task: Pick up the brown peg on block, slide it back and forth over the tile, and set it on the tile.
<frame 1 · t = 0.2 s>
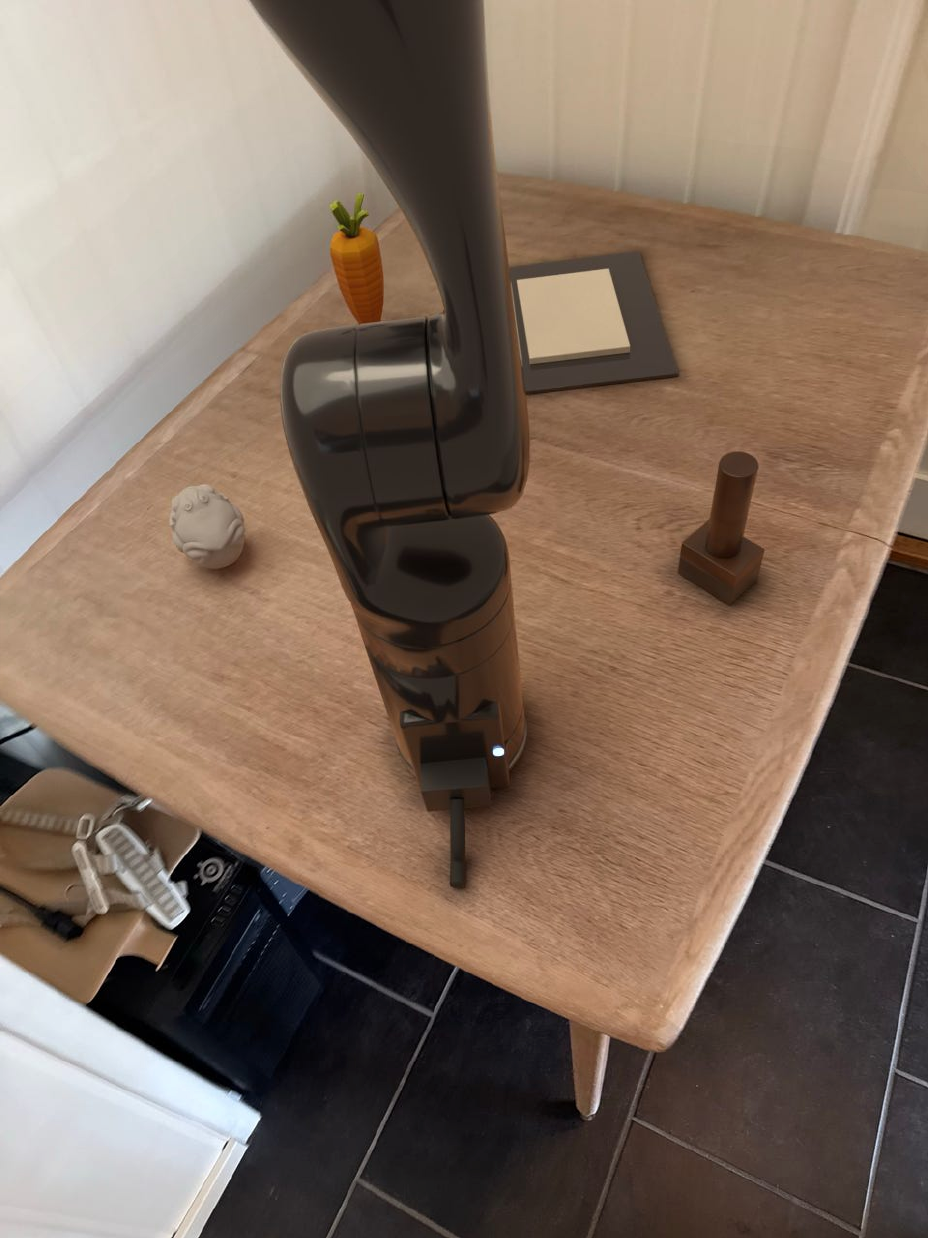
hand: (390, 35, 67), 29 cm above the table, tool pointing down, fingers open, 8 cm apart
brown peg on block: (717, 576, 70), on the table
frog figurine: (222, 558, 77), on the table
carrot: (373, 335, 94), on the table
tile: (570, 321, 92), on the table
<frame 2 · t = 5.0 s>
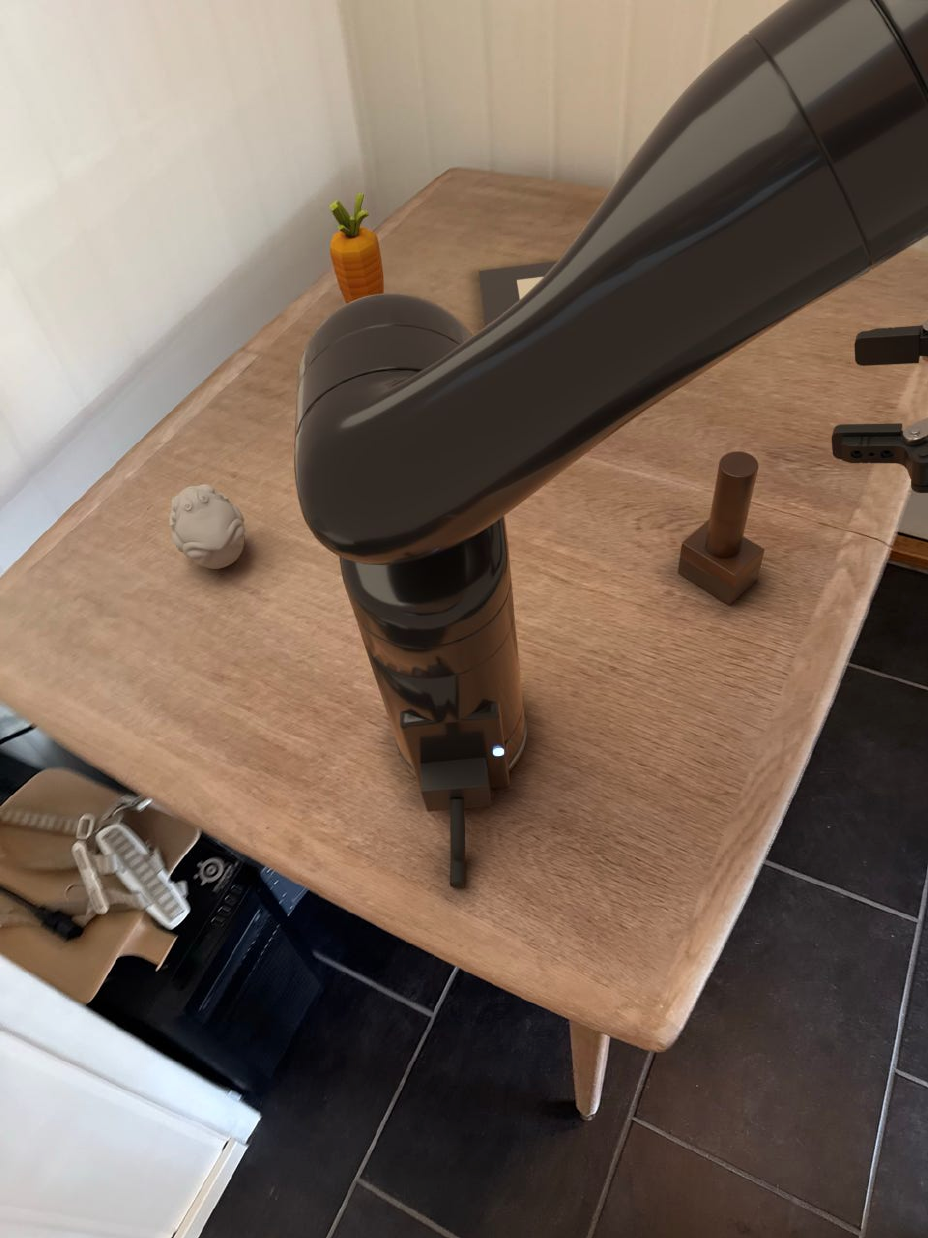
hand: (844, 394, 55), 18 cm above the table, tool horizontal, fingers open, 8 cm apart
nothing on the table moved.
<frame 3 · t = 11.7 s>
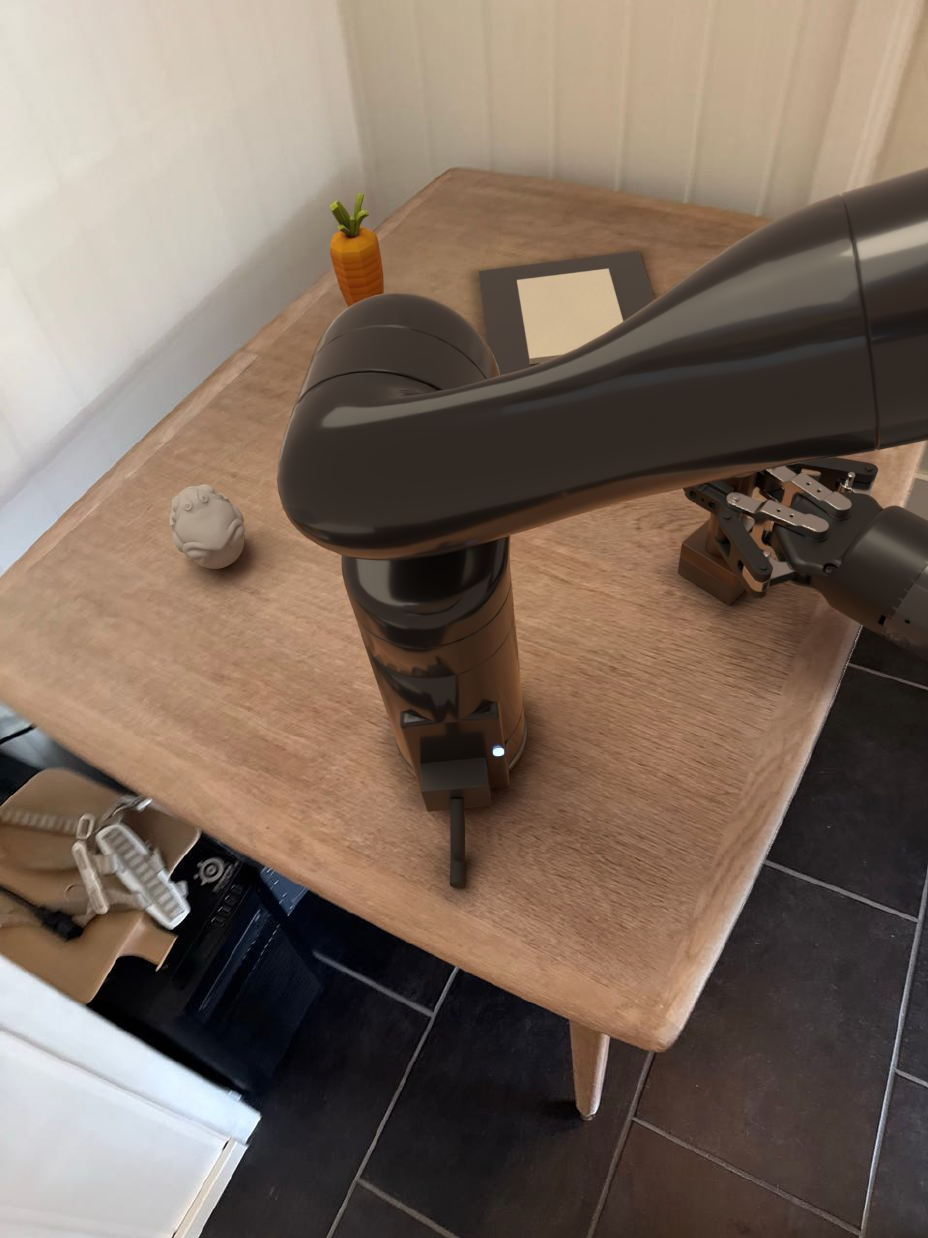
hand: (701, 466, 63), 10 cm above the table, tool horizontal, fingers closed on brown peg on block, 2 cm apart
brown peg on block: (716, 576, 69), on the table, touching gripper
everything else where it was.
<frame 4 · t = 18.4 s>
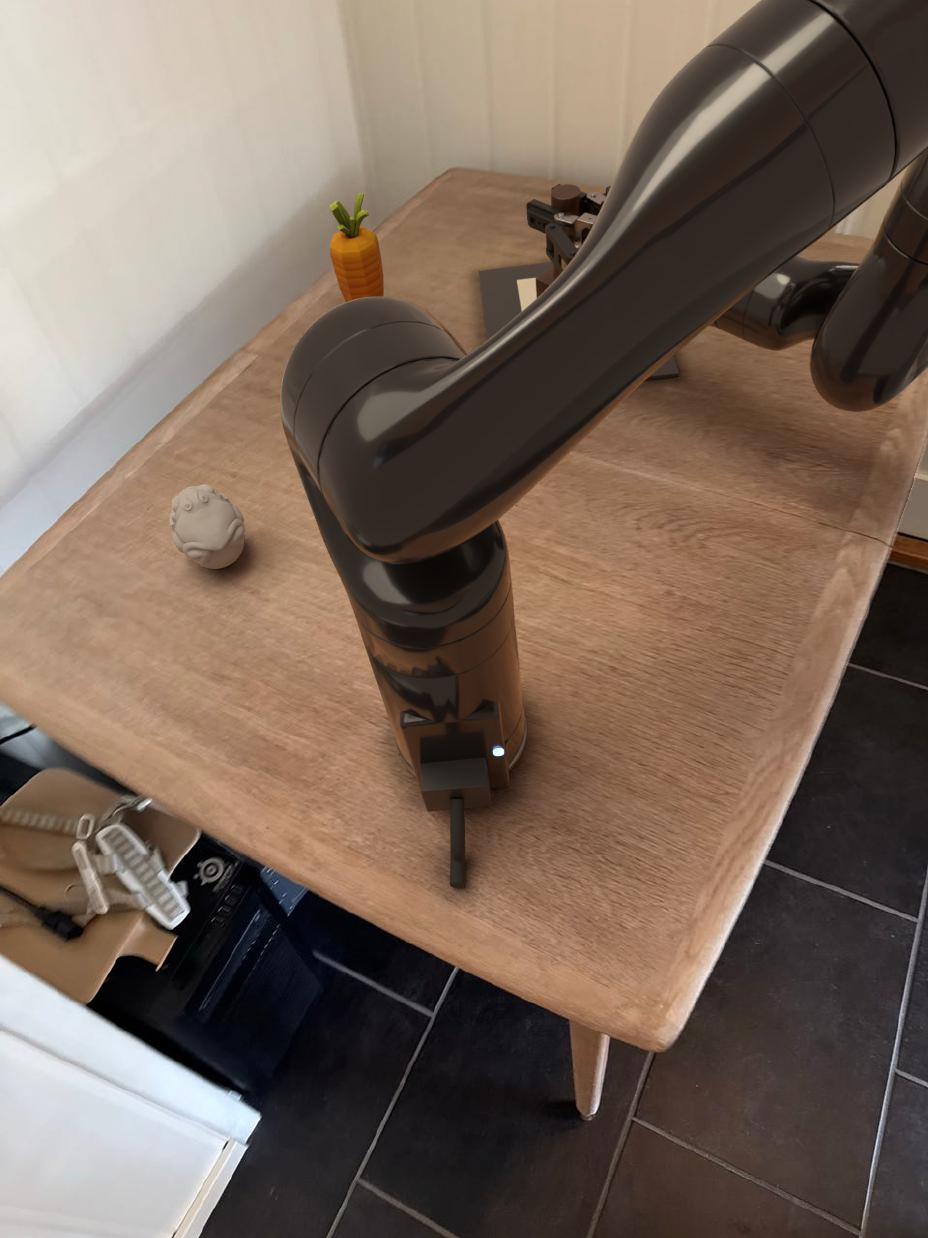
hand: (542, 203, 80), 14 cm above the table, tool horizontal, fingers closed on brown peg on block, 2 cm apart
brown peg on block: (567, 311, 86), point 4 cm above the table, touching gripper
everything else where it was.
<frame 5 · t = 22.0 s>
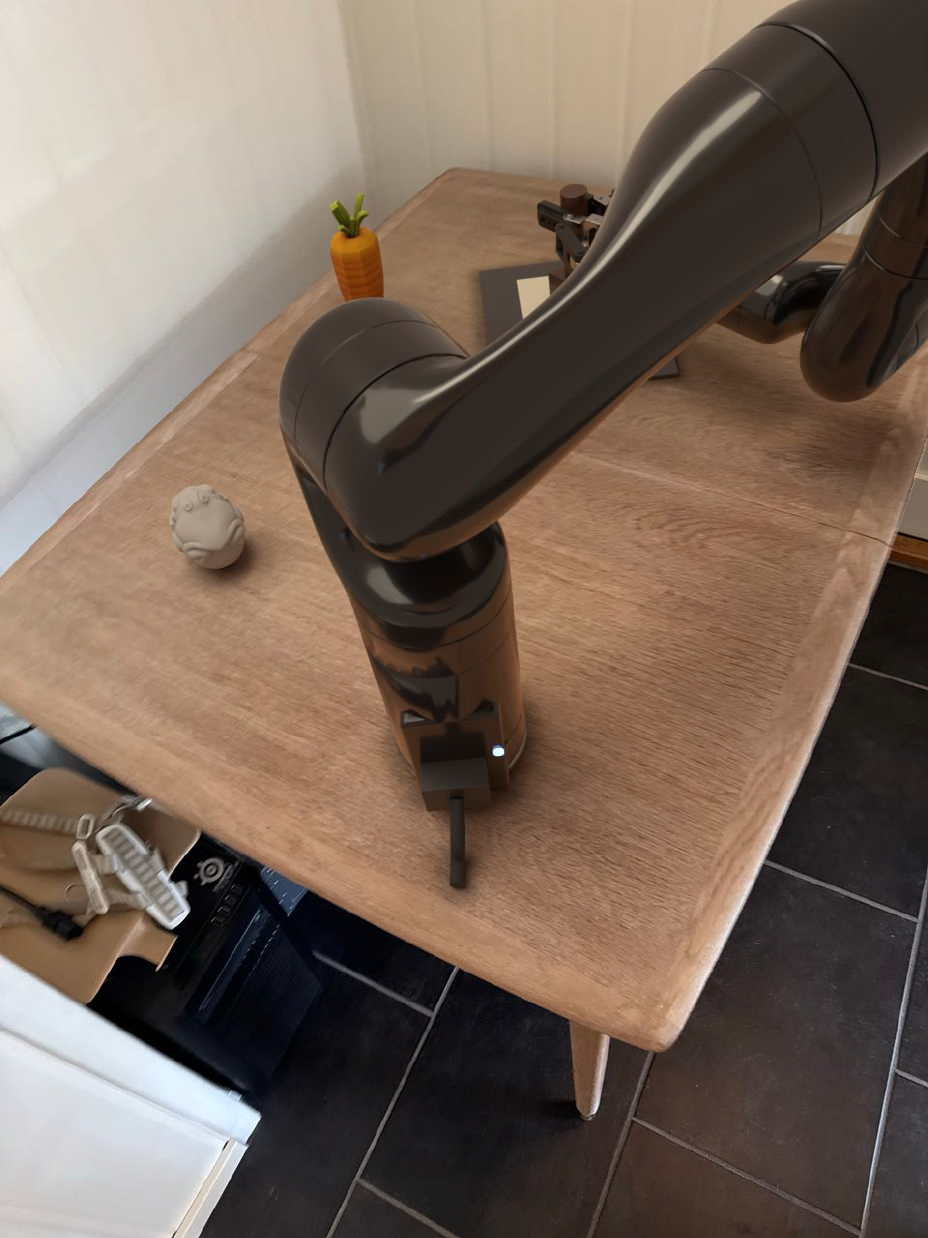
hand: (551, 204, 85), 11 cm above the table, tool horizontal, fingers closed on brown peg on block, 2 cm apart
brown peg on block: (579, 304, 91), point 1 cm above the table, touching gripper
everything else where it was.
when the fingers open (11 cm above the table, at t = 25.1 s): brown peg on block stays where it is, resting on tile.
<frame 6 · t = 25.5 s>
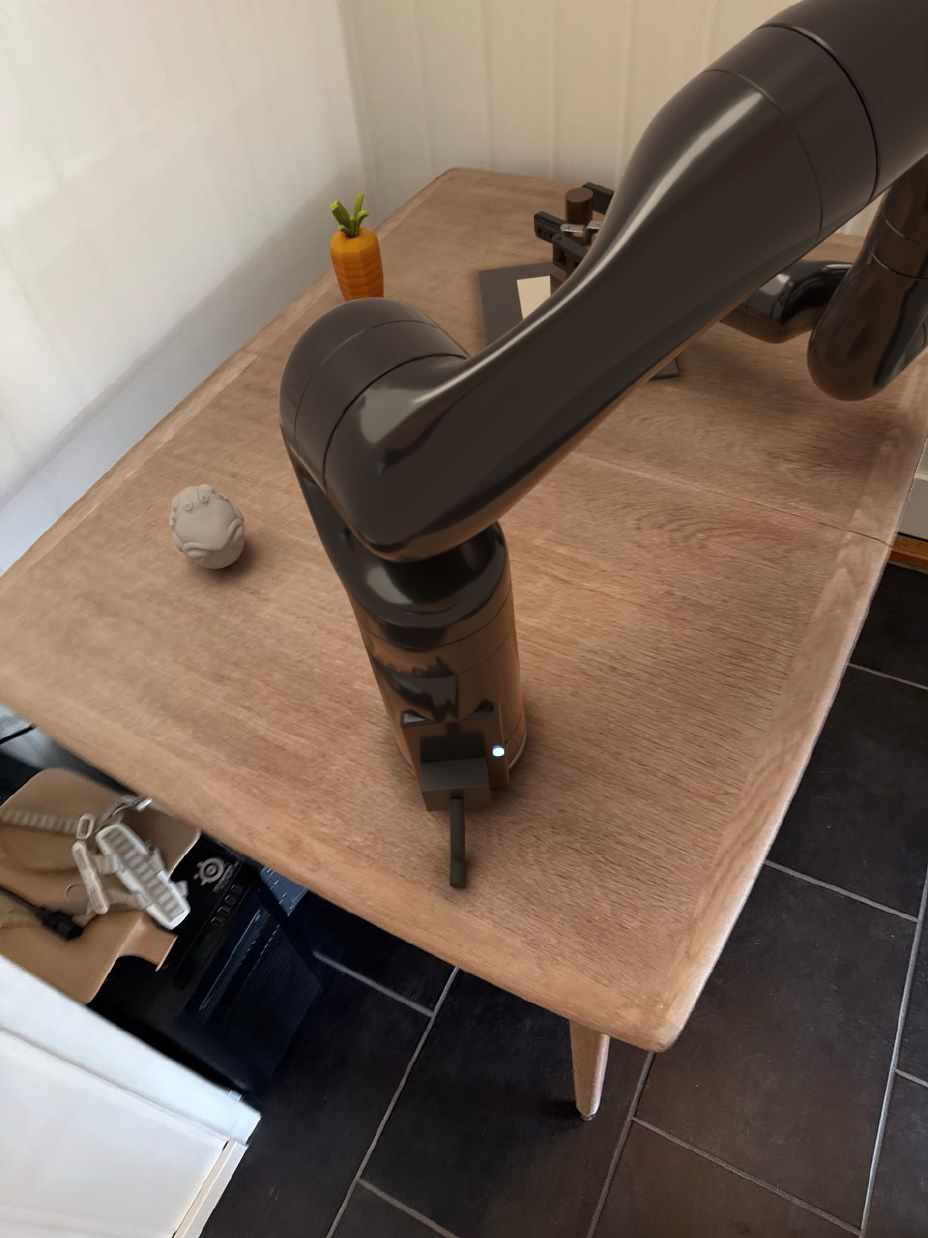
hand: (560, 207, 85), 11 cm above the table, tool horizontal, fingers open, 6 cm apart
brown peg on block: (578, 307, 91), point 1 cm above the table, touching tile
everything else where it was.
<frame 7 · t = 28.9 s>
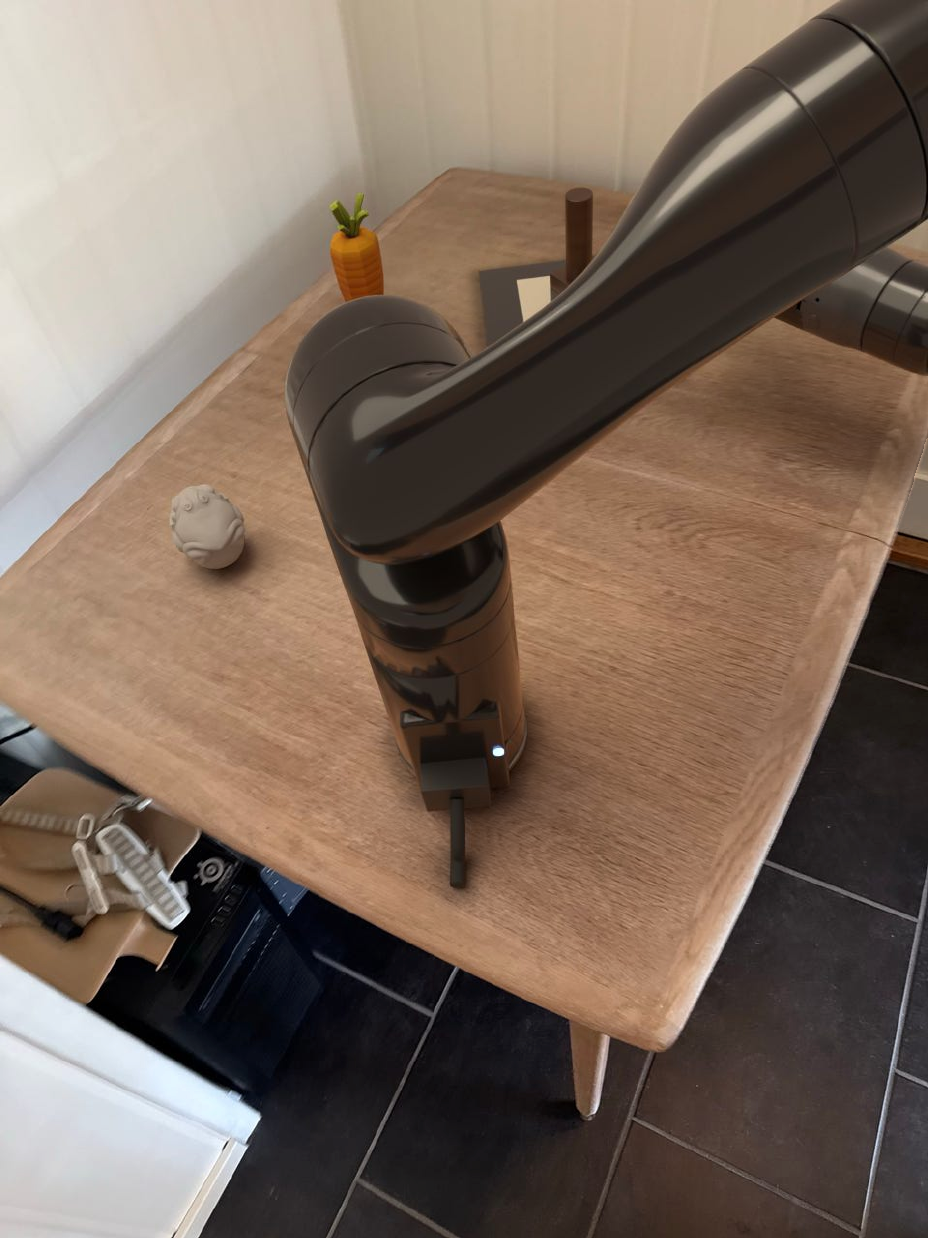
hand: (669, 220, 76), 14 cm above the table, tool horizontal, fingers open, 8 cm apart
nothing on the table moved.
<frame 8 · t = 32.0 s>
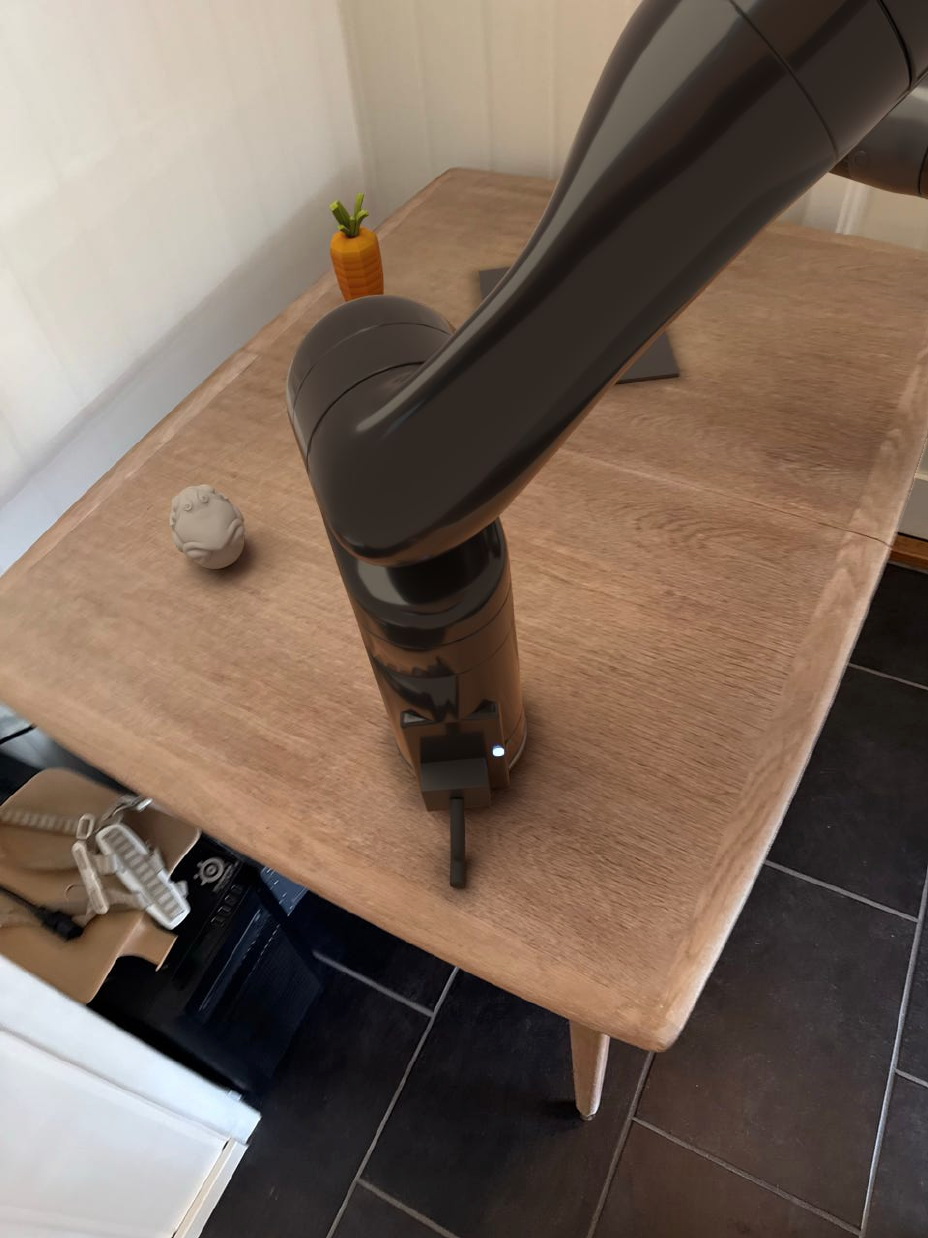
hand: (689, 66, 66), 26 cm above the table, tool horizontal, fingers open, 8 cm apart
nothing on the table moved.
at the end: brown peg on block inside the target area on the tile (1.0 cm from its centre), point 1.2 cm above the tile's base; brown peg on block tilted 0°; the gripper is holding nothing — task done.
